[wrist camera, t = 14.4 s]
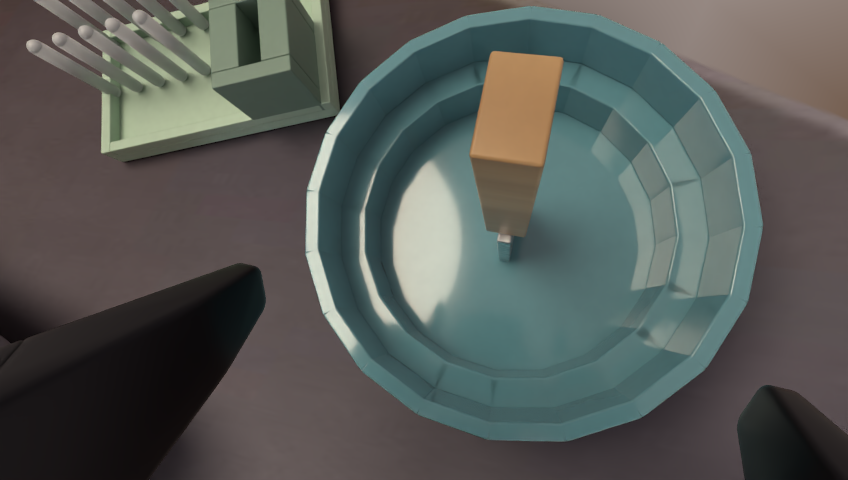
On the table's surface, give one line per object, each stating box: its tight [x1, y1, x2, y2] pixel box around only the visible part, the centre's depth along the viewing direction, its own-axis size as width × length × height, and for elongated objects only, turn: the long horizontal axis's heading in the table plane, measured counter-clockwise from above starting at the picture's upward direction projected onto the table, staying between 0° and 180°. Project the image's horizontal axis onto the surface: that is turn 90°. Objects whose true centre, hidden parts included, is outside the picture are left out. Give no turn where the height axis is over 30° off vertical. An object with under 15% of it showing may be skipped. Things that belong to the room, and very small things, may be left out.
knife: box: [469, 51, 564, 262], centre depth 14 cm, size 3×1×13 cm, turn 168°
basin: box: [305, 6, 763, 442], centre depth 18 cm, size 16×16×6 cm
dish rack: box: [26, 0, 340, 162], centre depth 23 cm, size 8×14×6 cm, turn 98°
